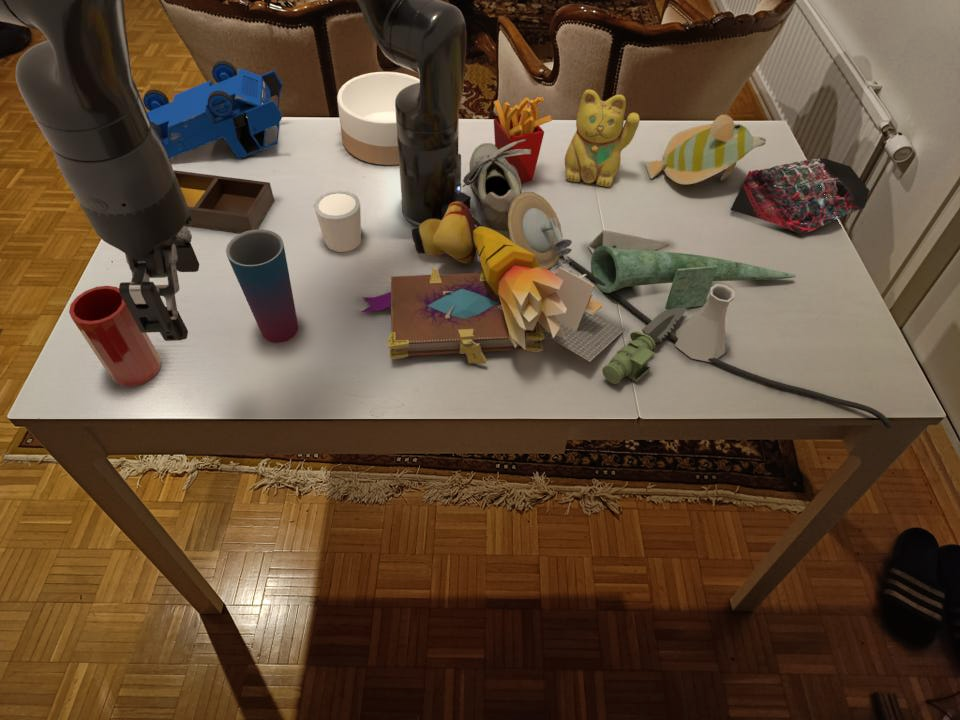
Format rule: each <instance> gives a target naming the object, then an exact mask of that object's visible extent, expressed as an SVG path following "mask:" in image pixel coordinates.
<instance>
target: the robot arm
mask: <svg viewBox="0 0 960 720" xmlns="http://www.w3.org/2000/svg"><path fill="white" fill-rule="evenodd" d="M355 1H356V3H357V5H358V7H359V9H360V11H361V13H362V15H363V18H364V19H365V22H366V24H367V26H368V29H369V30H370V33H371V34H372V36H373V39H374V40H375V41H374V42H376V44H377V47H378V48H379V49H380V51H381V52H382V54H383V55H384V56H385V57H386V58H387V59H388V60H389V61H391V62H392V63H393V64H395V65H397V66H400V67H402V68H405V69H407V70H410V71H412V72H415V73H417V74H419V79H420V83H416V84H412V85H410V86H408V87H406V88H404V89H402V90H401V91H400V92H399V93H398V95H397V96H396V99H395V113H396V127H397V141H398V155H399V164H398V166H399V167H398V169H399V179H400V181H399V182H400V192H401V213H402V216H403V218H404V219H405V221H407V222H408V223H409V224H412V225H414V226H416V227H418V226H419V225H420V224H422V223H423V222H424V221H426V220H428V219H438V220H442V219H443V217H444V215H445V213H446V212H447V209H448V206H449V205H450V204H451V203H452V202H456V201H459V202H462V203H464V204H465V205H466V206H467V207H468V208H469V210H470V209H471V195H469V194H467V193H464V192H462V154H460V153H459V132H460V131H459V125H460V124H459V123H460V122H459V121H460V120H459V119H460V118H459V116H460V106H461V101H462V99H463V94H464V89H465V88H464V85H465V70H466V56H467V39H468V38H467V26H466V25H467V23H466V19H465V17H464V15H463V13H462V11H461V10H460V9H459V8H458V6H456V5H454V4H451V3H450V2H446V1H443V0H355ZM126 21H127V20H126V8H125V0H0V22H2V23H7V24H10V25H11V24H12V25H16V26H20V27H24V28H29V29H33V30H37V31H40V32H41V33H42V35H44V37H45V38H46V40H44V41H42V42H39V43H37V44H34V45H33V46H32V47H30V48H28V49H27V50H26V51H25V52H24V53H22V55H20V57H19V59H18V60H17V62H16V65H15V81H16V84H17V88H18V90H19V93H20V96H21V97H22V99H23V101H24V103H25V104H26V107H27V108H28V110H29V112H30V114H31V115H32V117H33V119H34V121H35V122H36V124H37V127H38V128H39V130H40V131H41V133H42V135H43V136H44V138H45V140H46V142H47V143H48V146H50V148H51V151H52V153H53V156H54V158H55V162H56V164H57V166H58V168H59V170H60V173H61V175H62V176H63V178H64V180H65V182H66V183H67V185H68V187H69V189H70V190H71V192H72V194H73V195H74V198H75V199H76V201H77V202H78V204H79V206H80V207H81V209H82V211H83V213H84V214H85V216H86V218H87V220H88V221H89V222H90V224H91V226H92V228H93V230H94V231H95V233H96V234H97V236H98V237H99V238H100V239H101V240H102V241H103V242H105V243H106V244H107V245H110V246H111V247H114V248H115V249H118V250H119V251H120V252H122V253H124V255H125V260H126V264H127V265H128V267H129V270H130V272H131V279H130V280H131V281H127V282H126V281H125V282H124V281H123V282H119V285H118V288H119V292H120V295H121V297H122V299H123V300H124V302H125V304H126V306H127V308H128V310H129V311H130V313H131V315H132V317H133V319H134V320H135V322H136V324H137V326H138V328H139V330H140V331H141V333H147V334H149V333H160V335H161V337H162V339H163V341H165V342H174V341H175V342H176V341H184V340H187V339H188V334H189V330H188V327H187V326H186V324H185V322H184V321H183V319H182V316H181V315H180V312H179V310H178V307H177V301H176V294H177V293H178V292H179V291H180V283H179V275H178V272H179V273H197V272H198V271H200V262H199V260H198V257H197V255H196V252H195V250H194V248H193V245H192V244H191V242H192V239H193V234H192V233H191V230H190V229H188V228H189V226H187V225H191V224H192V220H193V218H192V216H191V213H190V211H189V208H188V206H187V203H186V201H185V198H184V196H183V193H182V190H181V188H180V185H179V183H178V180H177V178H176V175H175V173H174V170H175V169H174V168H173V165H172V163H171V160H170V159H169V158H168V155H167V152H166V150H165V147H164V145H163V143H162V141H161V139H160V137H159V135H158V133H157V132H156V130H155V129H154V127H153V125H152V123H151V121H150V119H149V117H148V114H147V112H148V111H147V108H146V107H145V105H144V102H143V99H142V97H141V94H140V91H139V90H138V87H137V85H136V82H135V80H134V78H133V74H132V68H131V62H130V61H131V60H130V49H129V42H128V41H129V40H128V32H127V22H126ZM473 219H474V222H475V227H476V228H477V227H479V226H483V225H482V223H481V222H480V221H479V220H478V219H477V218H475V217H474V216H473ZM558 251H560V250H558ZM567 257H568V258H571V257H570V256H569V255H567ZM560 258H562V259H563V260H565V259H564V257H563V256H560ZM569 265H571V266H572V267H574V268H575V269H577V270H578V271H579V272H580V273H582V274H583V275H584V274H587V275H586V276H585V277H588V278H589V279H590V280H591V281H592V282H594V284H595V283H597V284H600V285H602V286H606V285H605V284H604V283H603V282H602V281H601V280H599V279H598V278H596V277H595V276H594V275H593V274H592V272H591V271H589V270H588V269H586V268H585V267H584V266H582V265H580V264H579V263H578V262H577V261H576V260H574V259H572V261H571V262H569ZM162 278H163V279H165V278H167V284H155V282H154V281H150V279H162ZM608 294H609V295H610V296H611V297H613V298H614V299H615V300H616V301H618V302H619V303H620V304H621V305H622V306H624V307H625V308H627V309H628V310H629V311H631V312H632V313H633V314H634V315H635V316H637V317H638V318H639V319H641V320H642V321H643V322H645V323H646V324H647V325H648V324H649V323H650V322H651V321H652V320H653V319H651V318H650V317H648V316H647V315H645V314H644V313H643V312H641V311H640V310H639V309H638V308H636V307H635V306H634V305H632V304H631V303H630V302H628V301H627V300H626V299H625V298H624V297H622V296H621V295H620V294H618V293H617V291H613V292H610V293H608ZM162 297H163V298H164V299H165V303H164V301H163V299H162ZM165 305H166V306H165ZM667 334H668V335H667V336H665V338H666V337H667V338H668V339H669V340H671V341H672V342H674V343H675V342H677V341H678V337H676V335H674V334H673V333H672V332H670V333H667ZM708 360H709V361H710V362H709V363H712V364H714V365H716V366H718V367H721V368H723V369H725V370H727V371H729V372H732V373H735V374H737V375H740V376H742V377H745V378H747V379H751V380H754V381H756V382H758V383H760V384H761V383H762V384H764V385H768V386H772V387H773V388H778V389H782V390H785V391H790V392H793V393H797V394H800V395H805V396H809V397H812V398H814V399H815V398H816V399H818V400H822V401H825V402H828V403H832V404H836V405H839V406H844V407H849V408H852V409H856V410H860V411H863V412H866V413H868V414H870V415H872V416H874V417H876V418H877V419H878V420H880V422H882V423H883V426H884V427H886V428H887V429H892V428H893V425H892V423H891V421H890V420H889V419H888V418H887V417H886V416H885V415H884V414H883V413H882V412H880V411H879V410H877V409H875V408H873V407H871V406H868V405H866V404H863V403H858V402H854V401H851V400H846V399H842V398H838V397H835V396H831V395H827V394H824V393H821V392H819V391H818V392H817V391H815V390H810V389H807V388H803V387H799V386H795V385H791V384H787V383H783V382H779V381H776V380H773V379H770V378H767V377H763V376H760V375H758V374H755V373H752V372H749V371H746V370H744V369H741V368H739V367H736V366H734V365H731V364H729V363H727V362H725V361H723V360H720V359H719V358H718V359H716V358H709V359H708Z"/></svg>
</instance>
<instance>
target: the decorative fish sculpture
mask: <svg viewBox="0 0 960 720" xmlns="http://www.w3.org/2000/svg"><path fill="white" fill-rule="evenodd" d="M766 142H767V139H766V138H765V137H762V136H755V135H752V134H751V132H750V130H749V129H748V128H747V127H746V126H744V125H743V124H740V123H739V124H736V123H735V122H734V119H733V118H732V117H731V116H729V115H728V114H721V115H719V116H717V117H716V118H715V119H714V120H713V122H712V123H708V124H702V125H698V126H694V127H691V128H687V129H684V130H680V131H679V132H677V133H675V134H674V135H673V136H672V137H671V138H670V140H669V141H668V143H667V145H666V147H665V150H664V153H663V155H662V159H661V160H652V161H648V162H645V163H644V165H645V168H646V170H647V174H648V176H649V178H650V179H651V180H652V179H653V178H655V177H657V176H658V175H659V174H660V173H661V172H662V171H664V173H665V175H666V176H667V177H668V178H669V179H670V180H672V181H673V182H675V183H677V184H680V185H692V184H697V183H700V182H703V181H705V180H707V179H709V178H711V177H713V176H715V175H716V174H718V173H721V172H722V171H724V170H725V172H724V173H723V175H722V176H721V177H720V181H723V180H725V179H726V178H728V176H729V175H730V174H731V173H732V171H734V168H735V167H736V165H737V163H738V162H739V161H740V160H742V159H743V158H744V157H745V156H746V155H747V154H749V153H750V152H751V151H752V150H754V149H756V148H758V147H762V146H764V145H766Z"/></svg>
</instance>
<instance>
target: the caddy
mask: <svg viewBox="0 0 960 720" xmlns="http://www.w3.org/2000/svg"><path fill="white" fill-rule="evenodd" d="M173 170H174V173H175V175H176V178H177V180H178V183H179V185H180V188H181V190H182V193H183V196H184V198H185V201H186V203H187V206H188V208H189V211H190V213H191V216H192V218H193V220H192V224H191V225H187V227H192V228H200V229H207V230H215V231H223V232H230V233H235V234H236V233H238V234H241V233H243V232H246V231H249V230H256V229H259V227H260V225H261V223H262V221H264V218H265V217H266V215H267V213H268V211H270V208H271V207H272V206H273V203H274V201H275V197H274V193H273V190H272V189H273V188H272V185H271V182H269V181H260V180H253V179H247V178H246V179H245V178H237V177H229V176H222V175H214V174H207V173H199V172H190V171H184V170H175V169H173Z"/></svg>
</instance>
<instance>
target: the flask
mask: <svg viewBox="0 0 960 720" xmlns="http://www.w3.org/2000/svg"><path fill="white" fill-rule="evenodd" d="M734 299H735V290H734V289H733V288H731V287H729V286H728V285H725V284H720V283H716V284H714V285H713V286H711V287H710V290H709V296H708V297H707V299H706V302H705V304H704V306H701V308H700V309H699V310H697V312H696V313H695V314H694V315H693V316H692V317H691V318H689V319H688V320H687V321H686V322H685V323H683V325H681V326H680V327H679V328H677V330H676V331H675V336H676V337H678V341H677V342H674V343H675V344H674V346H675V347H676V348H677V349H678V350H680V351H681V352H682V353H683V354H685V355H686V356H688V357H689V358H690V359H692V360H696V361H697V360H698V361H701V362H708V363H711V362H710V361H709V360H708V359H709V358H716V359H718V360H719V358H720V357H722V356H723V355H724V354H725V353H726V316H727V312H728V311H727V310H728V307H729V305H730V303H731V302H732V301H734Z"/></svg>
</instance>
